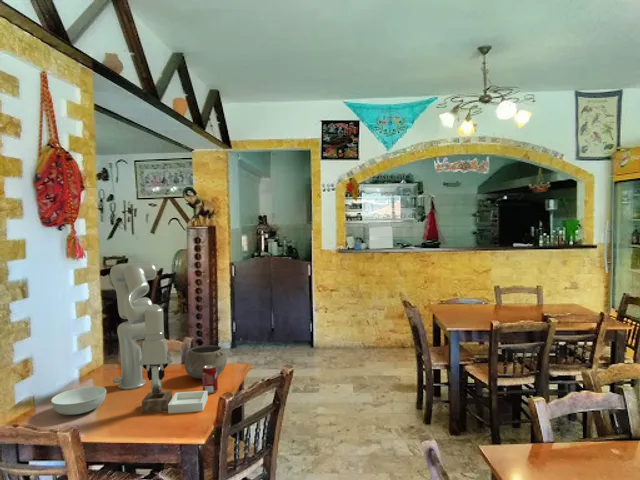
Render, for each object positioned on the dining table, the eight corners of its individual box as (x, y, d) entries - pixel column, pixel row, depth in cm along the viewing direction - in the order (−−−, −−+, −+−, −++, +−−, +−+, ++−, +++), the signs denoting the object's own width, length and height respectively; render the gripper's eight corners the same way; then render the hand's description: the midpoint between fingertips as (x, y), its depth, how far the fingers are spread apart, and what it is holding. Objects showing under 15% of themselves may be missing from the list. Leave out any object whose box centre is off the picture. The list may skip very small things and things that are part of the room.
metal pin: (150, 394, 189) (149, 363, 189) (153, 390, 193) (152, 360, 193) (160, 393, 190) (159, 363, 189) (162, 390, 193) (161, 360, 193)
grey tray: (168, 413, 185) (167, 405, 185) (175, 400, 199) (175, 392, 198) (202, 411, 186) (202, 402, 186) (207, 398, 200) (207, 390, 200)
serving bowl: (112, 398, 203) (111, 383, 203) (99, 417, 183) (99, 401, 183) (61, 404, 199) (61, 388, 199) (43, 423, 178) (42, 406, 178)
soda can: (214, 394, 204) (213, 368, 204) (200, 394, 205) (199, 368, 205) (220, 389, 211) (219, 364, 210) (206, 388, 212) (206, 363, 212)
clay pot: (182, 375, 234) (181, 346, 233) (222, 368, 242) (221, 341, 242) (188, 387, 214) (187, 356, 214) (231, 380, 223) (230, 350, 223)
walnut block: (142, 413, 186) (141, 401, 185) (148, 403, 196) (148, 392, 195) (166, 411, 187) (166, 399, 186) (172, 402, 197) (171, 391, 196)
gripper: (131, 339, 186) (133, 383, 186) (172, 338, 187) (174, 381, 188) (137, 335, 193) (138, 377, 194) (176, 333, 195) (178, 375, 196)
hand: (156, 378), depth 191 cm, fingers closed on metal pin, 4 cm apart
